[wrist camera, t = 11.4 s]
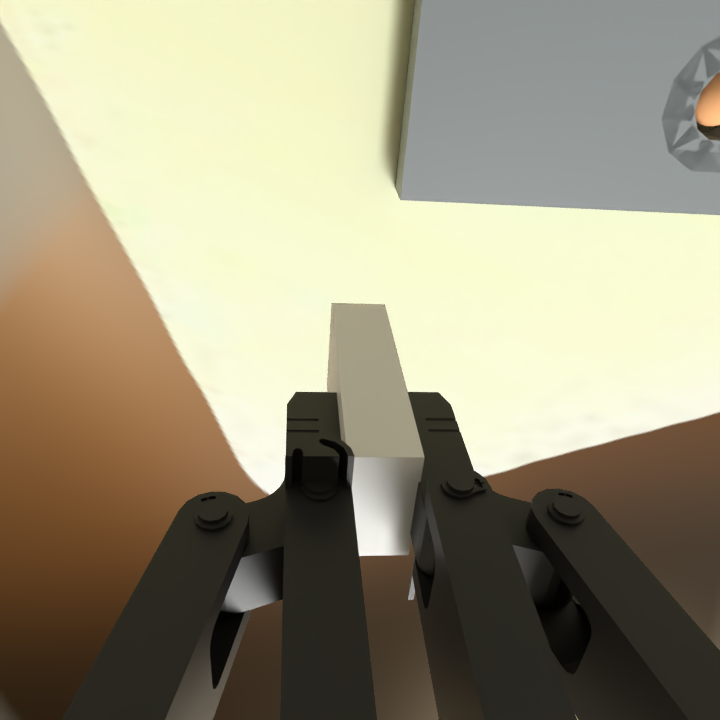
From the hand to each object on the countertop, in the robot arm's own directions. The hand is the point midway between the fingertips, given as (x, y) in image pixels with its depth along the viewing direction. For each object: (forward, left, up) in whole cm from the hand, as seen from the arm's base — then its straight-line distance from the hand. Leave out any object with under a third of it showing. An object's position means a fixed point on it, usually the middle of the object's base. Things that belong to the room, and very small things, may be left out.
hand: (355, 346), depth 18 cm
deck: (-4, +19, -26) cm, 33 cm away
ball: (-4, +24, -25) cm, 35 cm away
